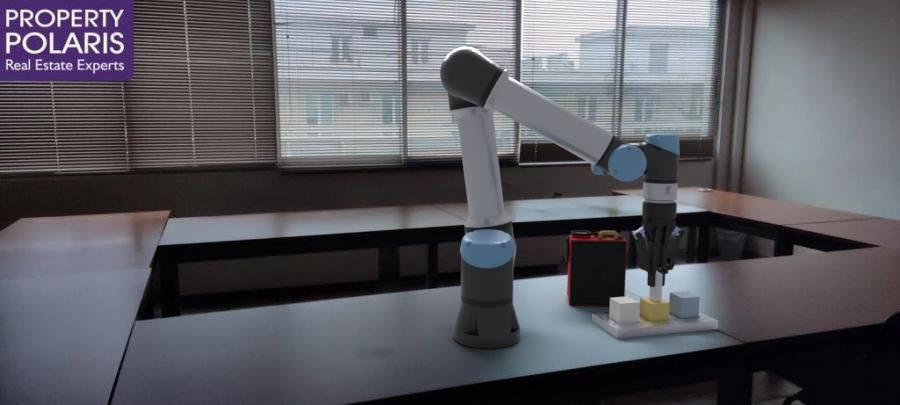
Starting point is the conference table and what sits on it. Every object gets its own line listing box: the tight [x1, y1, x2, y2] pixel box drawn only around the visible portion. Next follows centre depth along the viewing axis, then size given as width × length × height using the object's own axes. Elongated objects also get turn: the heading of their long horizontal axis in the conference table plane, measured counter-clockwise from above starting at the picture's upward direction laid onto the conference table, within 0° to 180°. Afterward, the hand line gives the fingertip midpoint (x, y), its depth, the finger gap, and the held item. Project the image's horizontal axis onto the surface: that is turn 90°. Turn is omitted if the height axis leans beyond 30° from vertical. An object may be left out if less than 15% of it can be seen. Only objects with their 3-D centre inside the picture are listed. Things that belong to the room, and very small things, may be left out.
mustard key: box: [639, 297, 670, 322], centre depth 142 cm, size 5×5×5 cm
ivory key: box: [608, 296, 640, 324], centre depth 140 cm, size 5×5×5 cm
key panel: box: [591, 308, 719, 339], centre depth 142 cm, size 26×12×2 cm, turn 104°
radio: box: [564, 229, 628, 307], centre depth 160 cm, size 16×10×20 cm, turn 84°
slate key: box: [668, 290, 701, 319], centre depth 144 cm, size 5×5×5 cm
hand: (655, 299), depth 142 cm, fingers closed
